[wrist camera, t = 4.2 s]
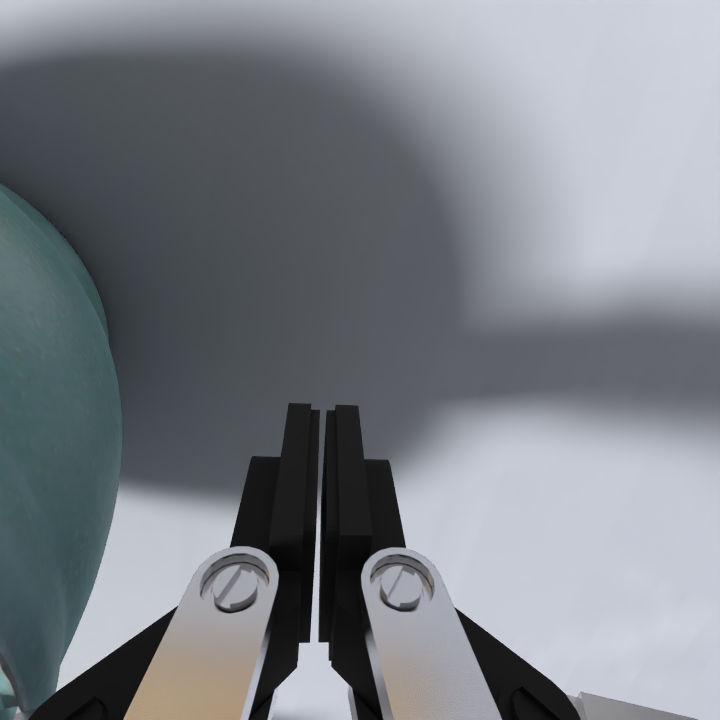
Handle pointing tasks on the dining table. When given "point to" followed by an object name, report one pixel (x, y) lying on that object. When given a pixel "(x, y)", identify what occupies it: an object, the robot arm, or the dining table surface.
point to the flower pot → (50, 448)
